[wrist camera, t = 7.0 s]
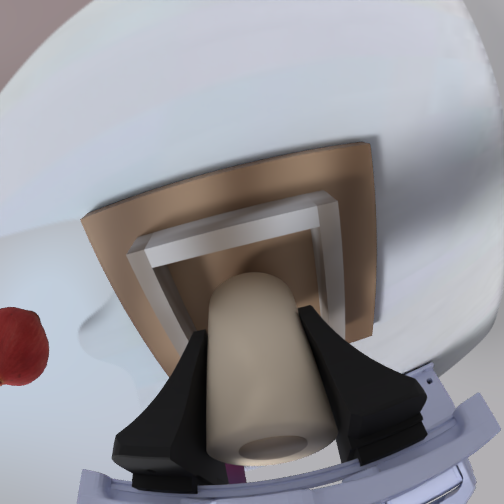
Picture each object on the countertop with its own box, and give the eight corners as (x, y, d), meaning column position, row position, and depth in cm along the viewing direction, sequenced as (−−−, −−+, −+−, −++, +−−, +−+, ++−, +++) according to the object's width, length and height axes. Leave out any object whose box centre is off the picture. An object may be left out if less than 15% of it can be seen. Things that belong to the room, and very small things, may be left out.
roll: (288, 263, 14) (342, 407, 6) (297, 328, 16) (335, 452, 9) (197, 283, 14) (185, 435, 7) (221, 343, 16) (226, 471, 9)
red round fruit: (58, 350, 19) (28, 421, 12) (10, 318, 17) (-28, 380, 10) (67, 311, 17) (24, 393, 10) (12, 273, 15) (-43, 340, 8)
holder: (361, 141, 13) (390, 149, 11) (367, 327, 20) (382, 353, 17) (87, 213, 14) (63, 234, 11) (173, 371, 20) (169, 401, 18)
